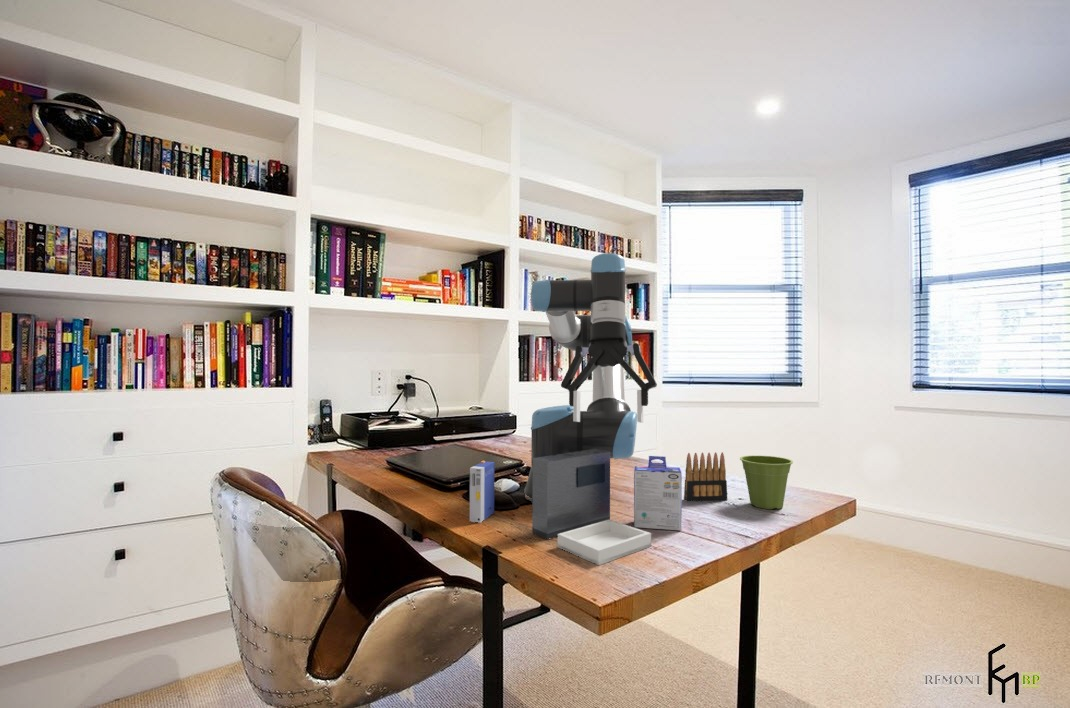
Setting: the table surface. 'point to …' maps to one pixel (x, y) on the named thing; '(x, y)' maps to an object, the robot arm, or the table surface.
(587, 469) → the block
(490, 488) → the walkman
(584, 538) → the tray
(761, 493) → the plant pot
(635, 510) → the ink cartridge box
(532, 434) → the robot arm
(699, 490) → the ammunition clip
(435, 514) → the table surface
